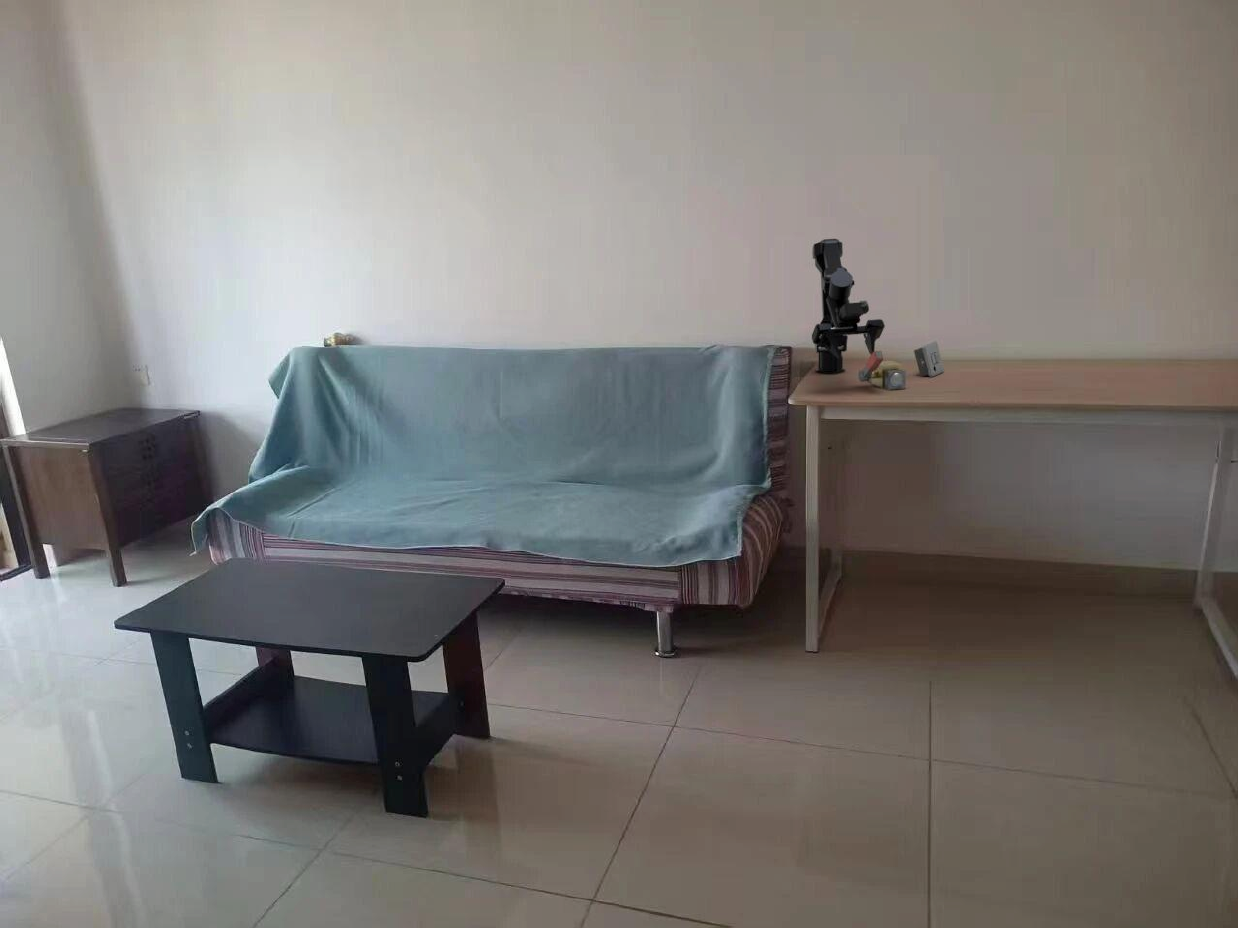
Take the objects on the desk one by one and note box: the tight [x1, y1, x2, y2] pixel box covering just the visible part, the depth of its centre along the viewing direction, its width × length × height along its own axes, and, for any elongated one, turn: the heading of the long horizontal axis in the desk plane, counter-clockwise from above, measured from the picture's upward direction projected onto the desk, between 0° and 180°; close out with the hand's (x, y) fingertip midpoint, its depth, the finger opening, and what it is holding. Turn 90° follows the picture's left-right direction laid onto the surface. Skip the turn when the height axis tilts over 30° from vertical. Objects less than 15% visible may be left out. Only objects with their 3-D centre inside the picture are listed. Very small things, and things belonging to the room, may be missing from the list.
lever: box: [858, 350, 884, 383], centre depth 257 cm, size 3×2×14 cm
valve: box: [868, 360, 907, 391], centre depth 262 cm, size 15×8×6 cm, turn 8°
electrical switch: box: [913, 340, 945, 378], centre depth 273 cm, size 9×5×9 cm, turn 141°
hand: (856, 356), depth 252 cm, fingers open, 9 cm apart
